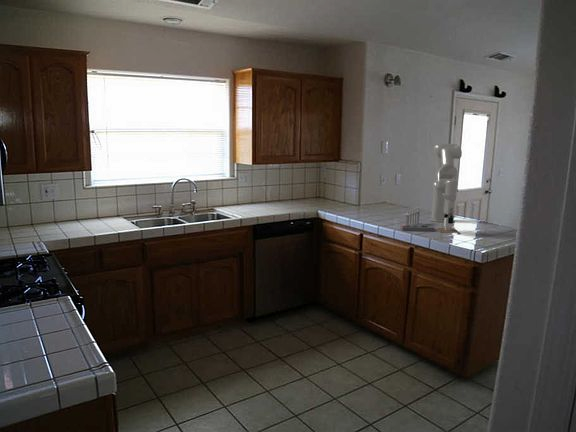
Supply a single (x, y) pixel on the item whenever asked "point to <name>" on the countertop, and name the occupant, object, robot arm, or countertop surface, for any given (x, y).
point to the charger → (447, 224)
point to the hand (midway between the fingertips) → (448, 221)
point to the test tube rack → (412, 216)
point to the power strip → (417, 228)
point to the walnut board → (448, 231)
